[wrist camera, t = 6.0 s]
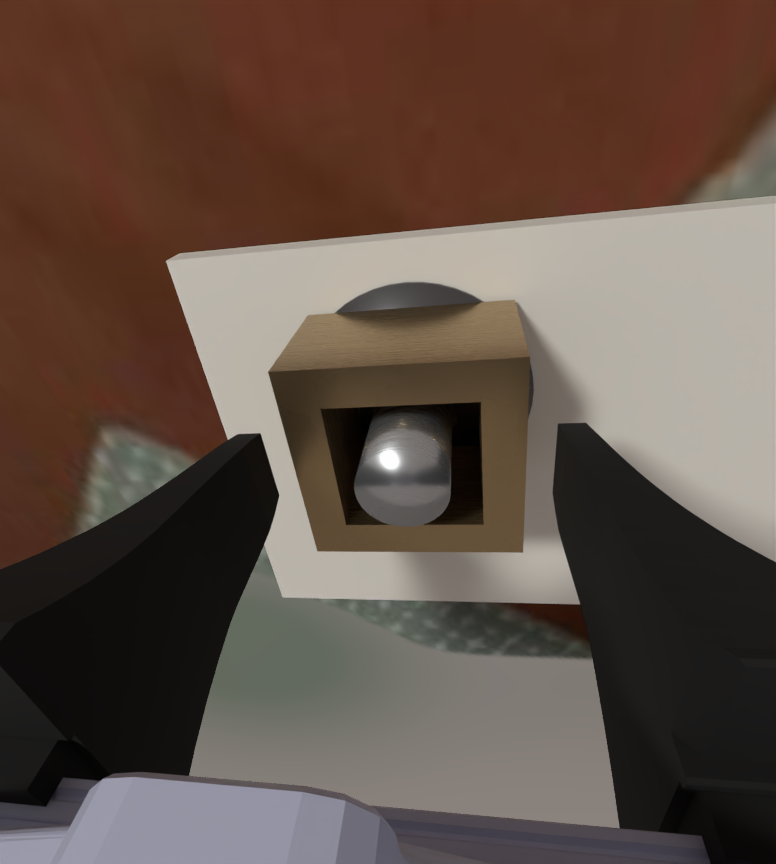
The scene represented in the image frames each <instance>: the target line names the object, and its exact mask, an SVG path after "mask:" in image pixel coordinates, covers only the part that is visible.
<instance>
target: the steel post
mask: <svg viewBox="0 0 776 864" xmlns="http://www.w3.org/2000/svg"><path fill="white" fill-rule="evenodd" d="M476 302H484V301H482V300H481V299H479V298H477V297H475V296H473V295H472V294H470V293H467V292H464V291H462V290H459V289H457V288H454V287H450V286H446V285H442V284H437V283H428V282H402V283H395V284H389V285H385V286H382V287H378V288H375V289H372V290H370V291H367V292H365V293H363V294H361V295H359V296H357V297H355V298H354V299H352V300H350V301H349V302H347V303H346V304H344V305H343V306H342V307H341V308H340V309H338V310H337V311H336V312H335V313H343V312H356V311H370V310H383V309H396V308H409V307H423V306H436V305H449V304H462V303H476ZM533 394H534V385H533V374H532V369H531V364H530V378H529V405H528V418H529V414H530V411H531V407H532V402H533ZM359 409H360V415H361V420H362V426H363V432H364V438H365V445H364V448H363V452H362V455H361V459H360V463H359V466H358V470H357V474H356V477H355V481H354V491H355V495H356V498H357V500H358V502H359V504H360V505H361V507H362V508H363V509H364V510H365V511H366V512H367V513H368V514H369V515H371V516H372V517H374V518H375V519H377V520H379V521H381V522H383V523H386V524H389V525H393V526H400V527H413V526H419V525H423V524H426V523H429V522H431V521H433V520H434V519H436V518H437V517H439V516H440V515H441V514H442V513H443V512H444V510H445V509H446V507H447V506H448V504H449V501H450V496H451V459H452V447H459V446H479V411H478V402H471V403H448V404H425V405H402V406H379V407H359Z"/></svg>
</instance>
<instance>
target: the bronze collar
mask: <svg viewBox="0 0 776 864" xmlns="http://www.w3.org/2000/svg"><path fill="white" fill-rule="evenodd" d="M268 374H269V377H270V381H271V385H272V388H273V392H274V396H275V399H276V403H277V406H278V410H279V414H280V417H281V421H282V425H283V428H284V432H285V436H286V439H287V443H288V446H289V450H290V454H291V457H292V461H293V465H294V468H295V472H296V476H297V479H298V483H299V486H300V490H301V494H302V497H303V501H304V505H305V508H306V512H307V516H308V519H309V523H310V526H311V530H312V534H313V537H314V541H315V545H316V548H317V551H319V552H509V553H523V542H524V515H525V487H526V460H527V432H528V405H529V378H530V354H529V351H528V347H527V343H526V339H525V336H524V332H523V328H522V325H521V321H520V317H519V313H518V310H517V306H516V302H515V300H502V301H489V302H476V303H462V304H449V305H436V306H423V307H409V308H396V309H383V310H370V311H356V312H343V313H330V314H317V315H308V316H307V317H306V319H305V320H304V321H303V323H302V324H301V326H300V327H299V328H298V330H297V331H296V333H295V334H294V336H293V337H292V338H291V340H290V341H289V343H288V344H287V346H286V347H285V348H284V350H283V351H282V353H281V354H280V356H279V357H278V358H277V360H276V361H275V363H274V364H273V366H272V367H271V368H270V370H269V371H268ZM471 402H478V411H479V446H459V447H452V459H451V496H450V501H449V504H448V506H447V507H446V509H445V510H444V512H443V513H442V514H441V515H440V516H439V517H437V518H436V519H434V520H433V521H431V522H429V523H426V524H423V525H419V526H413V527H400V526H393V525H389V524H386V523H383V522H381V521H379V520H377V519H375V518H374V517H372V516H371V515H369V514H368V513H367V512H366V511H365V510H364V509H363V508H362V507H361V505H360V504H359V502H358V500H357V498H356V495H355V491H354V481H355V477H356V474H357V470H358V466H359V463H360V459H361V455H362V452H363V448H364V445H365V438H364V432H363V426H362V420H361V415H360V409H359V407H379V406H402V405H425V404H448V403H471Z"/></svg>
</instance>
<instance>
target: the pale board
mask: <svg viewBox="0 0 776 864" xmlns="http://www.w3.org/2000/svg"><path fill="white" fill-rule="evenodd" d="M166 263H167V265H168V268H169V271H170V274H171V277H172V280H173V283H174V286H175V288H176V291H177V294H178V297H179V300H180V303H181V306H182V309H183V312H184V314H185V317H186V320H187V323H188V326H189V329H190V332H191V335H192V337H193V340H194V343H195V346H196V349H197V352H198V355H199V358H200V361H201V363H202V366H203V369H204V372H205V375H206V378H207V381H208V384H209V386H210V389H211V392H212V395H213V398H214V401H215V404H216V407H217V410H218V412H219V415H220V418H221V421H222V424H223V427H224V430H225V433H226V435H227V438H228V440H229V439H230V438H232V437H234V436H235V435H237V434H252V433H261V436H262V440H263V443H264V446H265V450H266V453H267V456H268V459H269V463H270V466H271V469H272V473H273V476H274V479H275V483H276V486H277V489H278V493H279V500H278V504H277V507H276V511H275V515H274V519H273V522H272V525H271V529H270V532H269V534H268V536H267V539H266V541H265V543H264V545H265V548H266V551H267V554H268V557H269V559H270V562H271V565H272V568H273V571H274V574H275V577H276V580H277V582H278V585H279V588H280V591H281V594H282V597H289V598H331V599H373V600H416V601H458V602H500V603H543V604H580V602H579V599H578V595H577V592H576V589H575V585H574V582H573V579H572V575H571V572H570V568H569V565H568V562H567V558H566V555H565V552H564V548H563V545H562V541H561V538H560V534H559V531H558V525H557V519H556V513H555V507H554V500H553V493H552V492H553V479H554V467H555V454H556V441H557V429H558V424H559V423H587V424H588V425H589V426H590V427H591V428H592V429H593V430H594V431H595V432H596V433H597V434H598V435H599V436H600V437H602V438H603V439H604V440H605V441H606V442H607V443H608V444H609V445H610V446H611V447H612V448H613V449H614V450H615V451H616V452H617V453H618V454H619V455H620V456H621V457H623V458H624V459H625V460H626V461H627V462H628V463H629V464H630V465H631V466H632V467H634V468H635V469H636V470H637V471H638V472H639V473H640V474H642V475H643V476H644V477H645V478H646V479H648V480H649V481H650V482H651V483H653V484H654V485H655V486H656V487H658V488H659V489H660V490H662V491H663V492H664V493H665V494H667V495H668V496H669V497H671V498H672V499H673V500H675V501H676V502H677V503H679V504H680V505H681V506H683V507H684V508H686V509H687V510H689V511H690V512H692V513H693V514H695V515H696V516H698V517H699V518H701V519H702V520H704V521H705V522H707V523H708V524H710V525H711V526H713V527H715V528H716V529H718V530H719V531H721V532H723V533H724V534H726V535H728V536H729V537H731V538H733V539H734V540H736V541H738V542H740V543H742V544H743V545H745V546H747V547H749V548H751V549H752V550H754V551H756V552H758V553H760V554H762V555H763V556H765V557H767V558H769V559H771V560H773V561H775V562H776V196H767V197H757V198H747V199H736V200H726V201H716V202H705V203H695V204H685V205H675V206H664V207H654V208H644V209H633V210H623V211H613V212H602V213H592V214H582V215H571V216H561V217H551V218H540V219H530V220H520V221H509V222H499V223H489V224H479V225H468V226H458V227H448V228H437V229H427V230H417V231H406V232H396V233H386V234H375V235H365V236H355V237H344V238H334V239H324V240H314V241H303V242H293V243H283V244H272V245H262V246H252V247H241V248H231V249H221V250H210V251H200V252H190V253H179V254H178V255H176V256H174V257H172V258H170V259H169V260H167V261H166ZM402 282H428V283H437V284H442V285H446V286H450V287H454V288H457V289H459V290H462V291H464V292H467V293H470V294H472V295H473V296H475V297H477V298H479V299H481V300H482V301H484V302H489V301H502V300H515V302H516V306H517V310H518V313H519V317H520V321H521V325H522V328H523V332H524V336H525V339H526V343H527V347H528V351H529V354H530V364H531V369H532V374H533V385H534V394H533V402H532V407H531V411H530V414H529V418H528V432H527V460H526V487H525V515H524V542H523V553H509V552H319V551H317V548H316V545H315V541H314V537H313V534H312V530H311V526H310V523H309V519H308V516H307V512H306V508H305V505H304V501H303V497H302V494H301V490H300V486H299V483H298V479H297V476H296V472H295V468H294V465H293V461H292V457H291V454H290V450H289V446H288V443H287V439H286V436H285V432H284V428H283V425H282V421H281V417H280V414H279V410H278V406H277V403H276V399H275V396H274V392H273V388H272V385H271V381H270V377H269V374H268V371H269V370H270V368H271V367H272V366H273V364H274V363H275V361H276V360H277V358H278V357H279V356H280V354H281V353H282V351H283V350H284V348H285V347H286V346H287V344H288V343H289V341H290V340H291V338H292V337H293V336H294V334H295V333H296V331H297V330H298V328H299V327H300V326H301V324H302V323H303V321H304V320H305V319H306V317H307V316H308V315H317V314H330V313H335V312H336V311H337V310H338V309H340V308H341V307H342V306H343V305H344V304H346V303H347V302H349V301H350V300H352V299H354V298H355V297H357V296H359V295H361V294H363V293H365V292H367V291H370V290H372V289H375V288H378V287H382V286H385V285H389V284H395V283H402Z"/></svg>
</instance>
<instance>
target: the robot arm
mask: <svg viewBox="0 0 776 864" xmlns="http://www.w3.org/2000/svg"><path fill="white" fill-rule="evenodd" d="M552 493H553V500H554V507H555V513H556V519H557V525H558V531H559V534H560V538H561V541H562V545H563V548H564V552H565V555H566V558H567V562H568V565H569V568H570V572H571V575H572V579H573V582H574V585H575V589H576V592H577V595H578V599H579V602H580V605H581V609H582V612H583V616H584V620H585V624H586V628H587V632H588V637H589V642H590V647H591V653H592V658H593V663H594V669H595V674H596V680H597V686H598V691H599V696H600V703H601V708H602V714H603V720H604V726H605V733H606V739H607V745H608V752H609V758H610V764H611V771H612V777H613V783H614V791H615V798H616V805H617V812H618V819H619V826H620V828H609V827H598V826H588V825H577V824H565V823H555V822H544V821H533V820H522V819H511V818H500V817H489V816H479V815H468V814H457V813H446V812H435V811H424V810H413V809H402V808H392V807H380V806H370V805H367V804H365V803H362V802H360V801H358V800H356V799H354V798H352V797H350V796H348V795H345V794H342V793H337V792H332V791H327V790H322V789H317V788H312V787H307V786H297V785H285V784H275V783H274V784H273V783H263V782H252V781H239V780H228V779H216V778H206V777H194V776H189V773H190V768H191V764H192V759H193V755H194V750H195V745H196V741H197V738H198V734H199V730H200V726H201V722H202V718H203V714H204V710H205V706H206V702H207V698H208V695H209V691H210V688H211V684H212V681H213V678H214V674H215V670H216V667H217V664H218V660H219V657H220V654H221V651H222V647H223V644H224V641H225V638H226V635H227V632H228V628H229V626H230V622H231V620H232V617H233V615H234V612H235V610H236V607H237V605H238V602H239V600H240V598H241V595H242V593H243V590H244V589H245V586H246V584H247V582H248V580H249V577H250V575H251V573H252V571H253V568H254V566H255V564H256V562H257V560H258V557H259V555H260V553H261V550H262V548H263V546H264V543H265V541H266V539H267V536H268V534H269V532H270V529H271V525H272V522H273V519H274V515H275V511H276V507H277V504H278V500H279V493H278V489H277V486H276V483H275V479H274V476H273V473H272V469H271V466H270V463H269V459H268V456H267V453H266V450H265V446H264V443H263V440H262V436H261V433H252V434H237V435H235V436H234V437H232V438H230V439H229V440H227V441H226V442H224V443H223V444H221V445H220V446H218V447H217V448H216V449H214V450H213V451H211V452H210V453H209V454H207V455H206V456H204V457H203V458H202V459H200V460H199V461H197V462H196V463H195V464H193V465H192V466H190V467H189V468H188V469H186V470H185V471H183V472H182V473H181V474H179V475H178V476H176V477H175V478H174V479H172V480H171V481H169V482H168V483H166V484H165V485H163V486H162V487H160V488H159V489H157V490H156V491H154V492H153V493H151V494H150V495H148V496H147V497H145V498H143V499H142V500H140V501H139V502H137V503H136V504H134V505H132V506H131V507H129V508H128V509H126V510H124V511H122V512H121V513H119V514H117V515H116V516H114V517H112V518H110V519H108V520H107V521H105V522H103V523H101V524H99V525H98V526H96V527H94V528H92V529H90V530H88V531H86V532H84V533H82V534H80V535H78V536H75V537H73V538H71V539H69V540H67V541H65V542H63V543H61V544H59V545H57V546H55V547H53V548H51V549H48V550H46V551H44V552H42V553H39V554H37V555H35V556H32V557H30V558H28V559H25V560H23V561H21V562H18V563H16V564H13V565H11V566H8V567H5V568H3V569H0V864H776V562H775V561H773V560H771V559H769V558H767V557H765V556H763V555H762V554H760V553H758V552H756V551H754V550H752V549H751V548H749V547H747V546H745V545H743V544H742V543H740V542H738V541H736V540H734V539H733V538H731V537H729V536H728V535H726V534H724V533H723V532H721V531H719V530H718V529H716V528H715V527H713V526H711V525H710V524H708V523H707V522H705V521H704V520H702V519H701V518H699V517H698V516H696V515H695V514H693V513H692V512H690V511H689V510H687V509H686V508H684V507H683V506H681V505H680V504H679V503H677V502H676V501H675V500H673V499H672V498H671V497H669V496H668V495H667V494H665V493H664V492H663V491H662V490H660V489H659V488H658V487H656V486H655V485H654V484H653V483H651V482H650V481H649V480H648V479H646V478H645V477H644V476H643V475H642V474H640V473H639V472H638V471H637V470H636V469H635V468H634V467H632V466H631V465H630V464H629V463H628V462H627V461H626V460H625V459H624V458H623V457H621V456H620V455H619V454H618V453H617V452H616V451H615V450H614V449H613V448H612V447H611V446H610V445H609V444H608V443H607V442H606V441H605V440H604V439H603V438H602V437H600V436H599V435H598V434H597V433H596V432H595V431H594V430H593V429H592V428H591V427H590V426H589V425H588V424H587V423H559V424H558V429H557V441H556V454H555V467H554V479H553V492H552Z"/></svg>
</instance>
